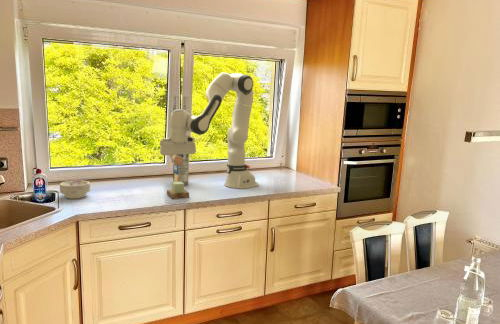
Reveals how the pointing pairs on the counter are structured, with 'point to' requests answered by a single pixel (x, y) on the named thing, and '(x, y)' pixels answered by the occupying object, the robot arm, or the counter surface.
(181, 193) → the walnut plinth
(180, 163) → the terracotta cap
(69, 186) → the paper bowls
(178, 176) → the beverage box
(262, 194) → the counter surface
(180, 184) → the green block
